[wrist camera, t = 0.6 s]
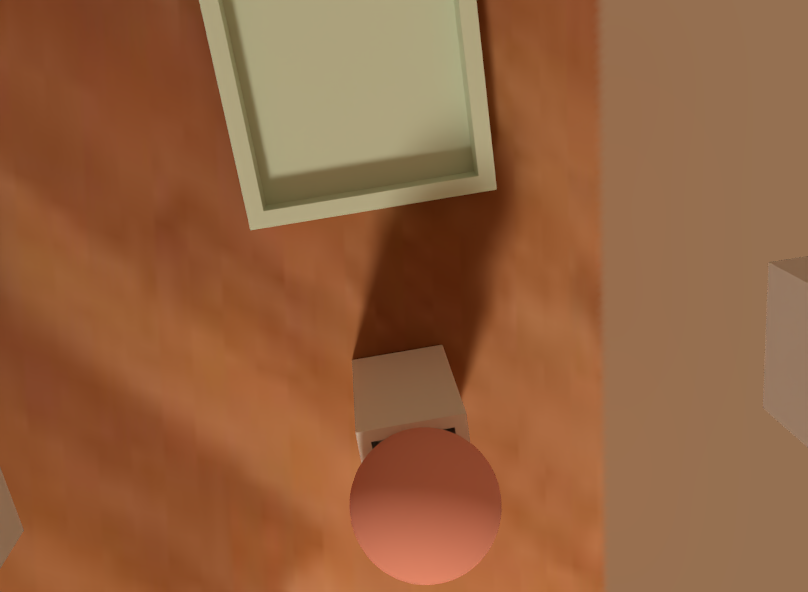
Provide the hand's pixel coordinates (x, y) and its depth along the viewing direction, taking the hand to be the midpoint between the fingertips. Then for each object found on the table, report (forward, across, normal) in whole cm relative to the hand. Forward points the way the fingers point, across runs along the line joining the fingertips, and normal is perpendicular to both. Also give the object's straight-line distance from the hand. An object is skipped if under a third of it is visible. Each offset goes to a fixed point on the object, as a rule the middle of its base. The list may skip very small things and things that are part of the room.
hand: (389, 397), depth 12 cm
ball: (+16, +1, -13) cm, 21 cm away
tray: (+26, 0, +6) cm, 27 cm away
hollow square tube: (+26, +1, -14) cm, 29 cm away
